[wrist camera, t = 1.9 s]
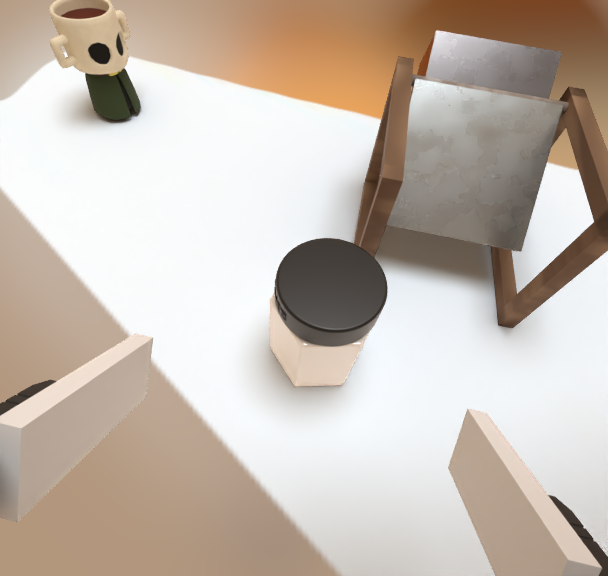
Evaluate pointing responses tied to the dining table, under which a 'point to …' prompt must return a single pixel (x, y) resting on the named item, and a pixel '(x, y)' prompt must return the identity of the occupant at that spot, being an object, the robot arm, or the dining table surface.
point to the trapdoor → (477, 141)
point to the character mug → (96, 52)
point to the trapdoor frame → (510, 306)
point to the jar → (324, 309)
